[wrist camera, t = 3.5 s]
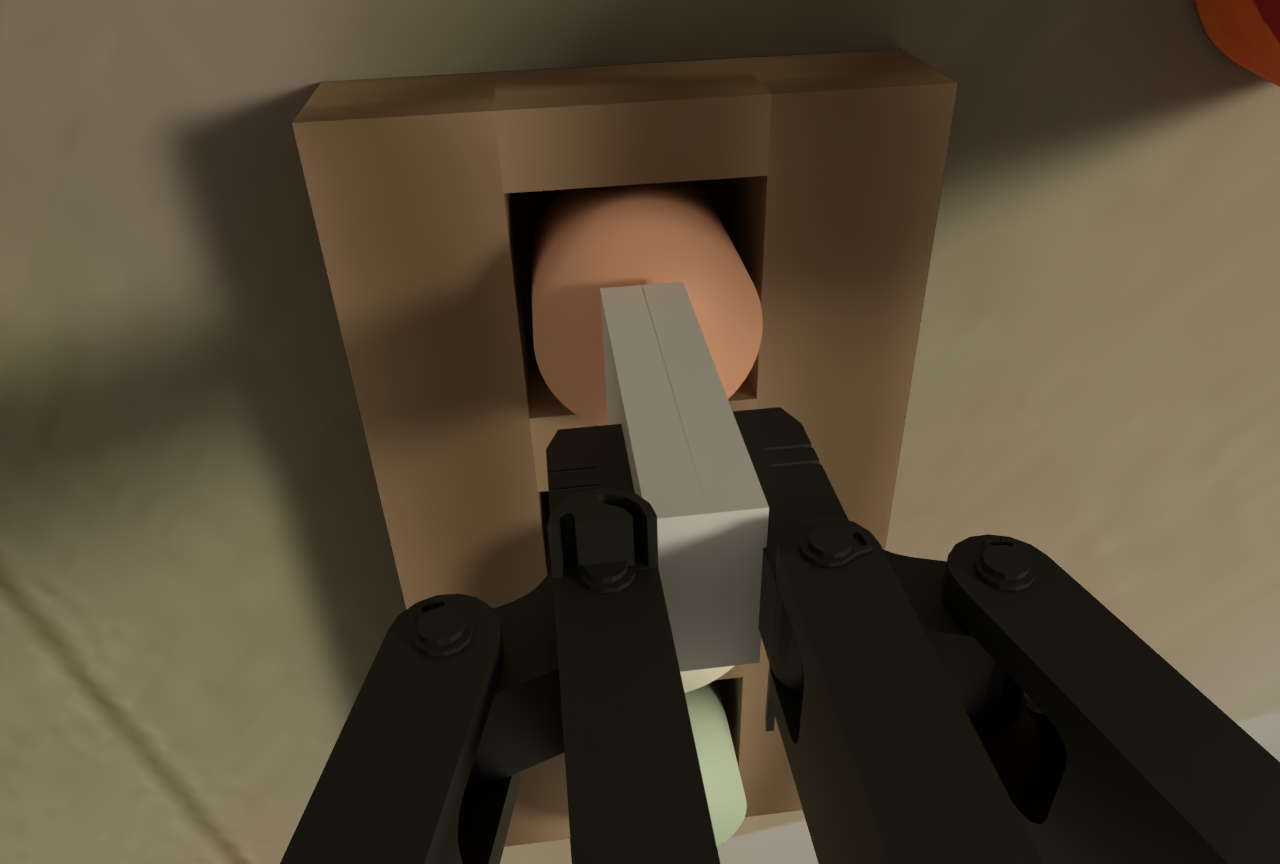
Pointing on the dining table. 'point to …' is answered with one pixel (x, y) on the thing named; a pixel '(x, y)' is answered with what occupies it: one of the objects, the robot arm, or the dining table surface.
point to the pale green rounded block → (717, 761)
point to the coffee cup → (1245, 33)
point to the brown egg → (634, 281)
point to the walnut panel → (493, 315)
